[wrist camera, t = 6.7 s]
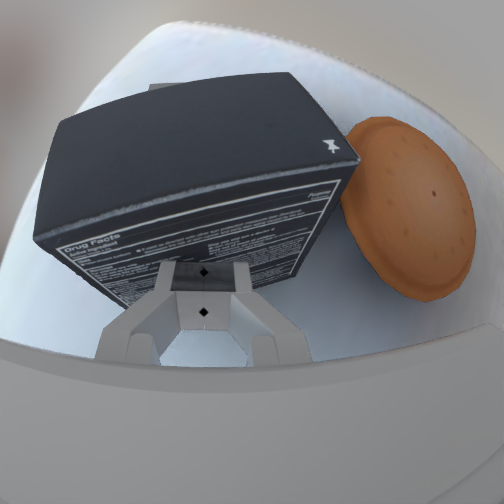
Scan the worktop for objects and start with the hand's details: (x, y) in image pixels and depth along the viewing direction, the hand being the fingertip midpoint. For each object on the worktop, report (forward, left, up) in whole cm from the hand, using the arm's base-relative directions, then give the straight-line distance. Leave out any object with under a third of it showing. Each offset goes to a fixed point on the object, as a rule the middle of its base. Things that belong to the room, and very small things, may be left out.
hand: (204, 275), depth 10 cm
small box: (+2, 0, -8) cm, 8 cm away
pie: (+6, -16, -9) cm, 19 cm away
